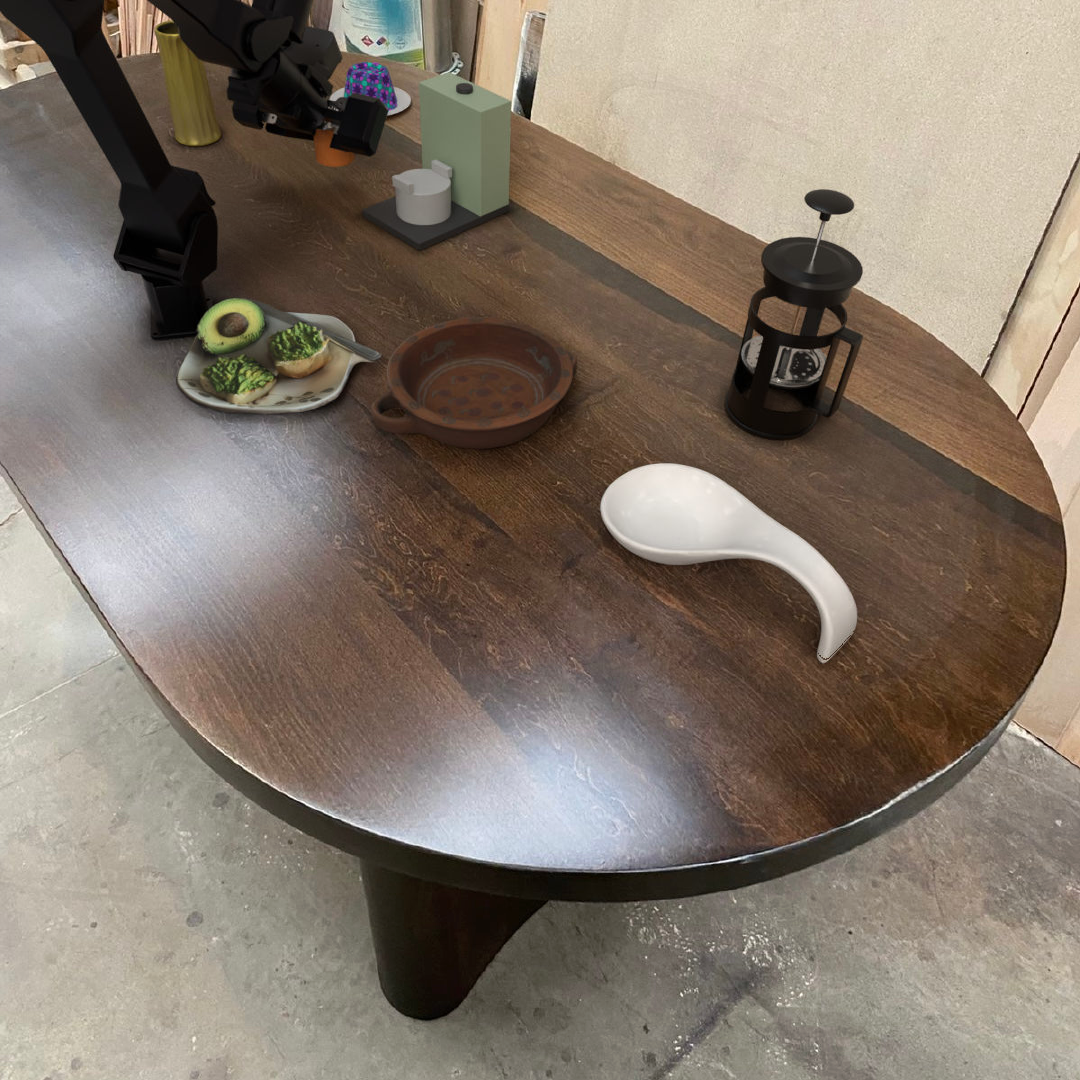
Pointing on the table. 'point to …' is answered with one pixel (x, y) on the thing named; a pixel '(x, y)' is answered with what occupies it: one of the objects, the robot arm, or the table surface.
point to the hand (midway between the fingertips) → (339, 141)
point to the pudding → (373, 86)
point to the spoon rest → (720, 536)
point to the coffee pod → (330, 150)
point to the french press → (794, 360)
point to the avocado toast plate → (268, 359)
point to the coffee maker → (451, 165)
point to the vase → (186, 89)
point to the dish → (475, 382)
